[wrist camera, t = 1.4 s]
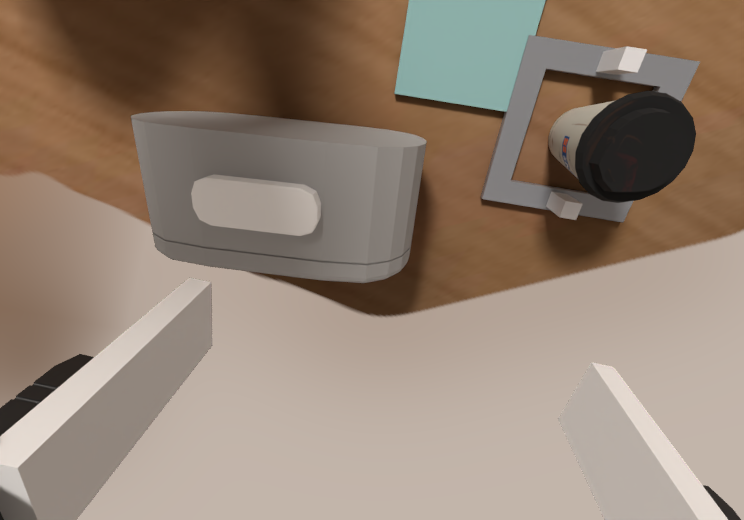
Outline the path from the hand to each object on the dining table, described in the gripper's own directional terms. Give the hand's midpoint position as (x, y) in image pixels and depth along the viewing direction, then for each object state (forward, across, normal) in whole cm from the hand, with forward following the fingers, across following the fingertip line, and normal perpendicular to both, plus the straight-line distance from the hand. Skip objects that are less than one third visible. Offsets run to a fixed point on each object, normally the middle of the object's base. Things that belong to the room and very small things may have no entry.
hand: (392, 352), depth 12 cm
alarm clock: (+24, -9, 0) cm, 26 cm away
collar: (+24, +14, +8) cm, 28 cm away
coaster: (+24, +2, +13) cm, 27 cm away
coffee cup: (+24, +14, +8) cm, 29 cm away
